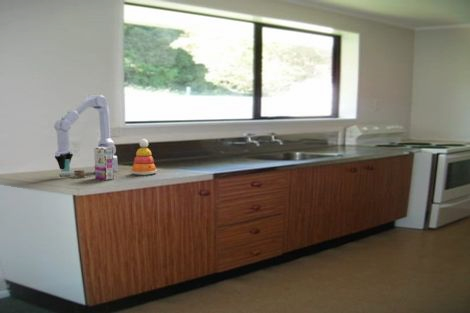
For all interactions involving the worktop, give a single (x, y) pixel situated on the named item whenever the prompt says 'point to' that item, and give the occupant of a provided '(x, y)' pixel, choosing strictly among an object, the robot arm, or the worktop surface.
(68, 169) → the block
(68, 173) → the coaster
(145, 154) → the stacking toy
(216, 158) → the worktop surface
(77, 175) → the channel
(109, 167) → the candy bar box
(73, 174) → the rod
